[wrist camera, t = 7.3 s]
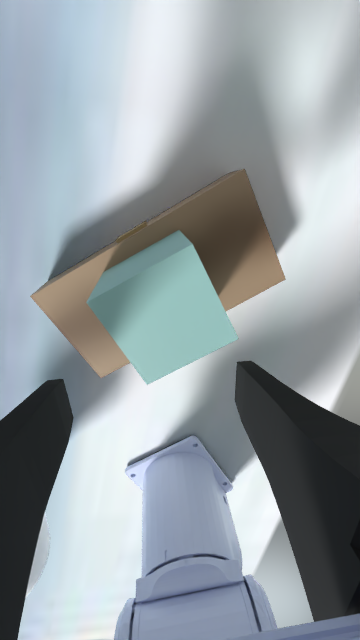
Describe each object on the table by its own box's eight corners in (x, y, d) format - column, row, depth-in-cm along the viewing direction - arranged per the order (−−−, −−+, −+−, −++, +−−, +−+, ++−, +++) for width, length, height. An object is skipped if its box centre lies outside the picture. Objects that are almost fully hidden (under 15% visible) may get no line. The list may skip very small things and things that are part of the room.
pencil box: (266, 267, 20) (285, 279, 17) (106, 355, 22) (100, 378, 19) (227, 169, 17) (243, 164, 14) (45, 279, 19) (27, 293, 16)
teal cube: (214, 301, 17) (238, 338, 13) (146, 337, 18) (147, 384, 13) (178, 229, 15) (192, 243, 11) (103, 272, 16) (86, 302, 11)
